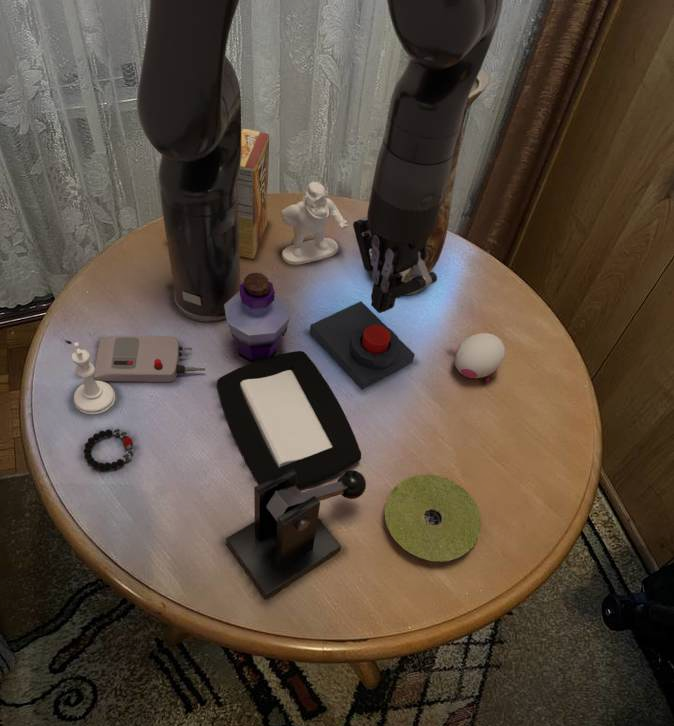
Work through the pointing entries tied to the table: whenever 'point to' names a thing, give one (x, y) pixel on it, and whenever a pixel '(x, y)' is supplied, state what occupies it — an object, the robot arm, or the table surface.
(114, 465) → the bracelet
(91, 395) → the chess piece
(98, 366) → the grey electronic device
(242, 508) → the table surface
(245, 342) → the potion bottle
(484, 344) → the stress ball
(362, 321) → the control box
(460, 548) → the mat
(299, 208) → the figurine
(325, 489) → the switch lever
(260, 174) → the candy box
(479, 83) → the vase
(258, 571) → the switch bracket
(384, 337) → the red button
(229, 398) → the light switch
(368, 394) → the table surface
